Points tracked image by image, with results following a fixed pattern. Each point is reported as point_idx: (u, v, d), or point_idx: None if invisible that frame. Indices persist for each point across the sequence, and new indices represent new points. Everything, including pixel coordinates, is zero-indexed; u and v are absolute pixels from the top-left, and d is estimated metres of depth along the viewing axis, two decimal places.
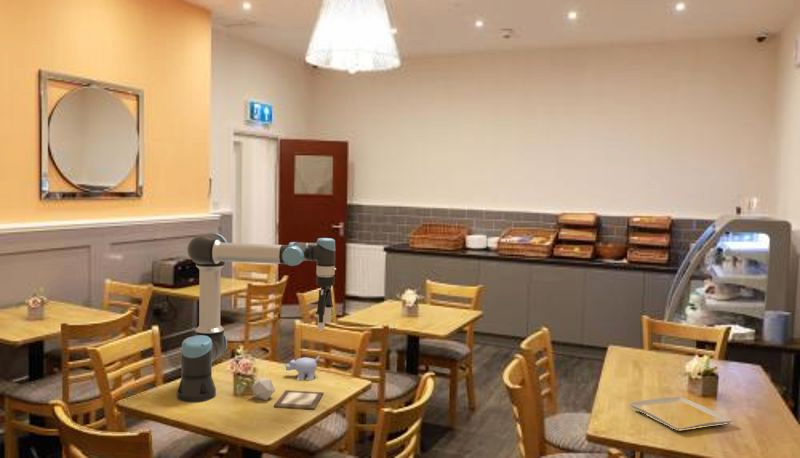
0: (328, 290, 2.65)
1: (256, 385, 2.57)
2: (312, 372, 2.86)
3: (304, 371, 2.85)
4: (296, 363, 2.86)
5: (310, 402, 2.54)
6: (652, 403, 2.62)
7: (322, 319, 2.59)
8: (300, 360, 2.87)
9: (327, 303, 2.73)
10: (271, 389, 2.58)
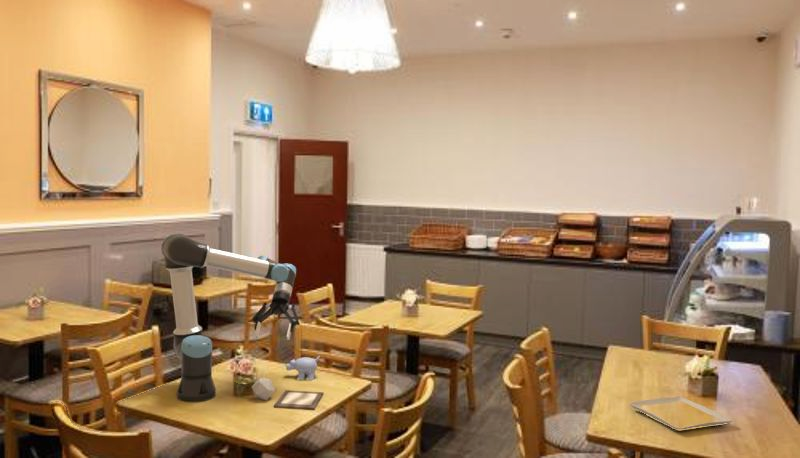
0: None
1: (256, 385, 2.57)
2: (312, 372, 2.86)
3: (304, 371, 2.85)
4: (296, 363, 2.87)
5: (310, 402, 2.54)
6: (652, 403, 2.62)
7: None
8: (300, 360, 2.87)
9: (262, 319, 2.75)
10: (271, 389, 2.58)
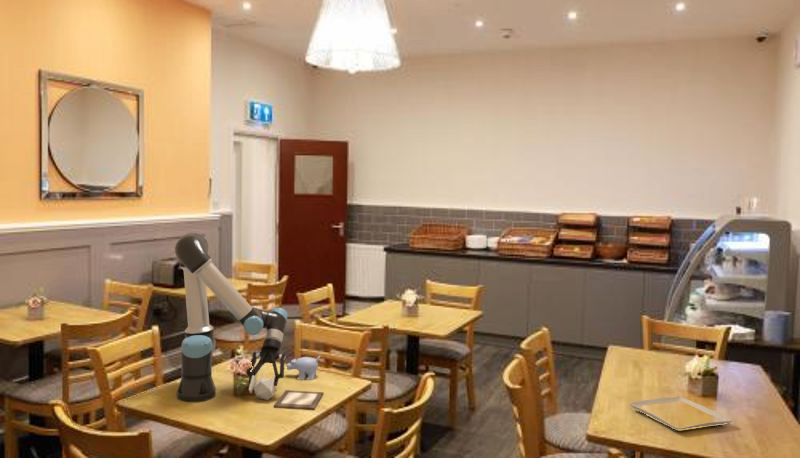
0: None
1: (258, 386, 2.57)
2: (313, 372, 2.87)
3: (305, 370, 2.86)
4: (297, 362, 2.87)
5: (310, 402, 2.54)
6: (652, 403, 2.62)
7: None
8: (301, 359, 2.87)
9: (256, 371, 2.63)
10: None
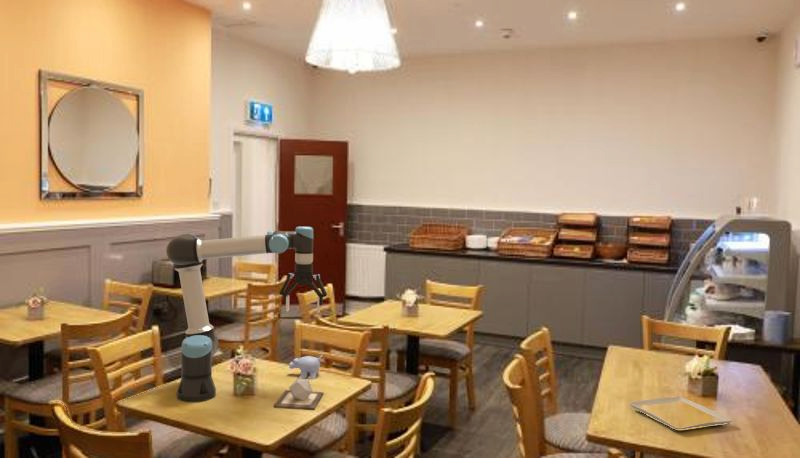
0: None
1: (294, 386, 2.55)
2: (314, 371, 2.88)
3: (306, 369, 2.87)
4: (299, 361, 2.89)
5: (310, 402, 2.54)
6: (652, 403, 2.62)
7: None
8: (303, 358, 2.89)
9: (289, 291, 2.76)
10: (309, 390, 2.56)
